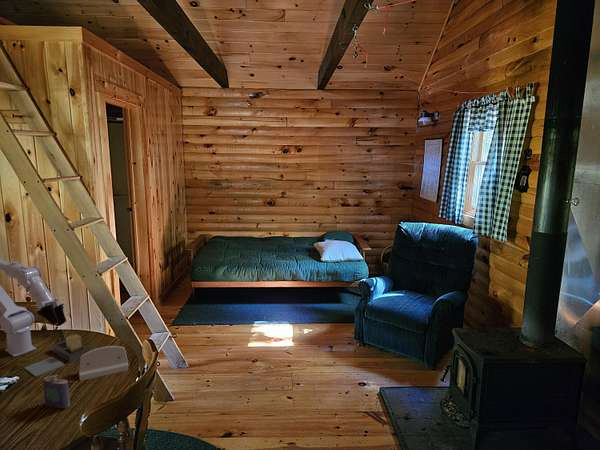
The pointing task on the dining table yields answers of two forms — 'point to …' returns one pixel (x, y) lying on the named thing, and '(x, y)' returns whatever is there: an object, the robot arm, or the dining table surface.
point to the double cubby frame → (62, 352)
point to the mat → (44, 366)
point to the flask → (56, 392)
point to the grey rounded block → (103, 362)
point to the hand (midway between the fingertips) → (59, 323)
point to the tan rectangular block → (73, 343)
